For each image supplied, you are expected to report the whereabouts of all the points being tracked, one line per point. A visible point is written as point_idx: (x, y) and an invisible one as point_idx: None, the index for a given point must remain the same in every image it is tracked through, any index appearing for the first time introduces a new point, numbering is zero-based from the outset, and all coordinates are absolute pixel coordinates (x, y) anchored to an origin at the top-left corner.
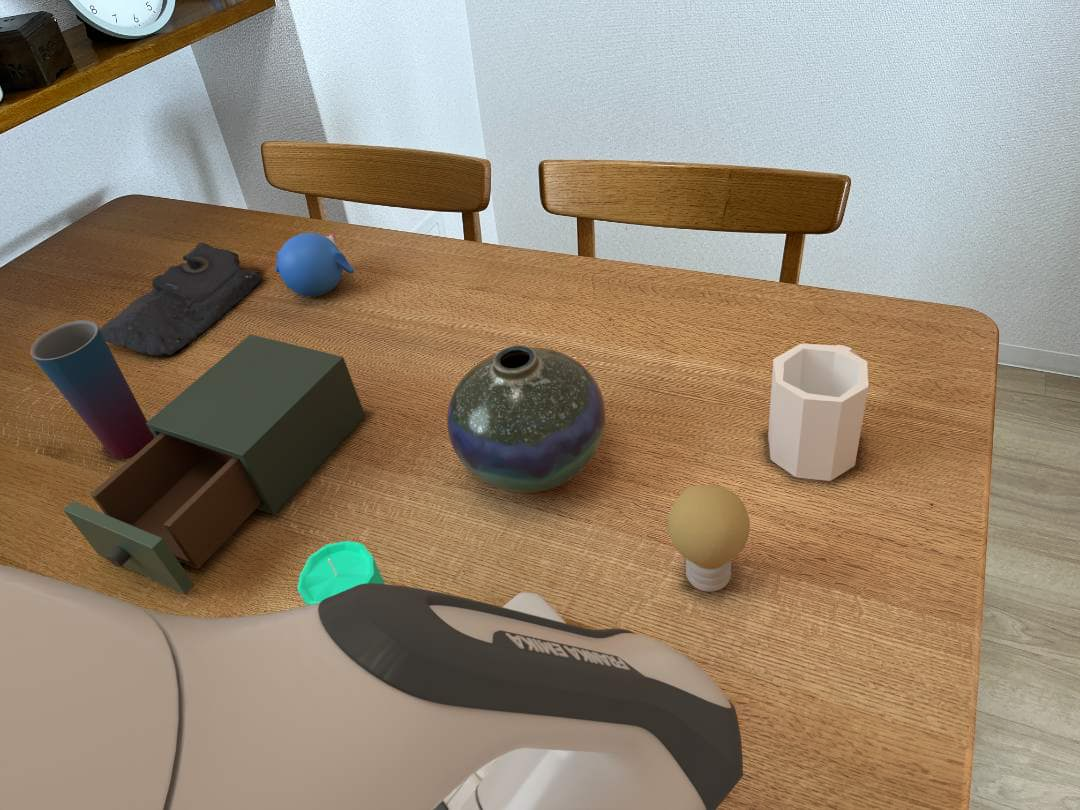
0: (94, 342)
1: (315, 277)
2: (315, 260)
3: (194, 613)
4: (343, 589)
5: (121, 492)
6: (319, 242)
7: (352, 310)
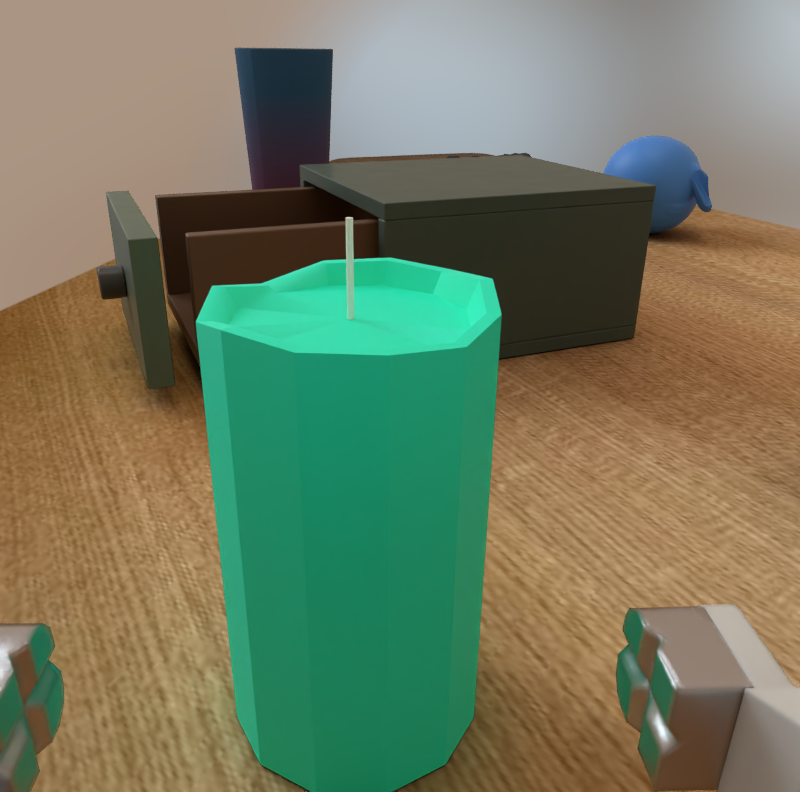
0: (312, 55)
1: None
2: (663, 164)
3: (134, 426)
4: (331, 344)
5: (199, 225)
6: (681, 147)
7: (680, 254)
